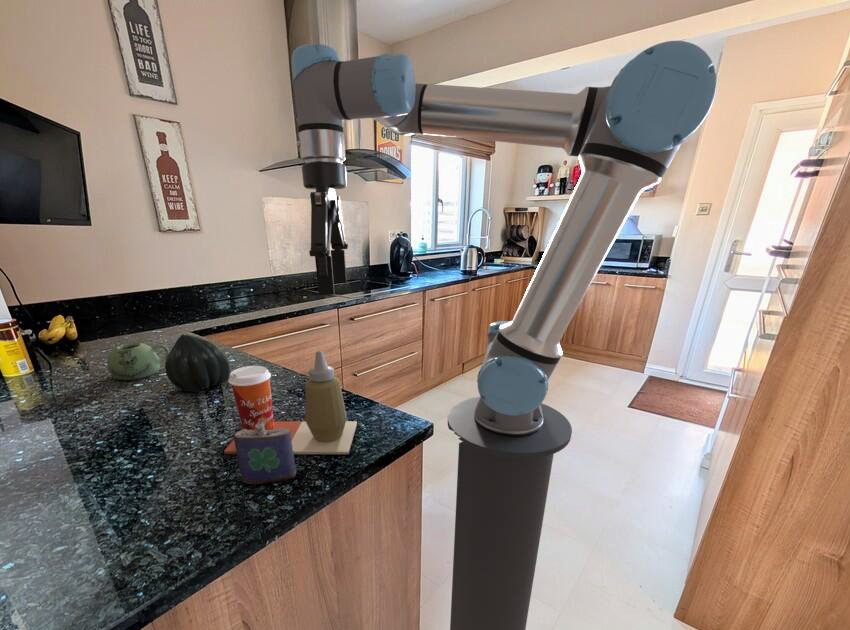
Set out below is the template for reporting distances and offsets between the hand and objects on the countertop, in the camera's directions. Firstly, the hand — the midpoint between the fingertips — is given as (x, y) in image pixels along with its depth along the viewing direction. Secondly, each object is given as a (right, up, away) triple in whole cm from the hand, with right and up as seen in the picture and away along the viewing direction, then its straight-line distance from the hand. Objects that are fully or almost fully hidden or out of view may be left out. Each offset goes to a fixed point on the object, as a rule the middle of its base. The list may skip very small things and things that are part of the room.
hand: (334, 288), depth 76 cm
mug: (-63, -15, +40) cm, 77 cm away
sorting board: (-9, -30, +4) cm, 31 cm away
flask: (-10, -35, -8) cm, 37 cm away
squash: (-41, -19, +30) cm, 54 cm away
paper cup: (-16, -29, +4) cm, 33 cm away
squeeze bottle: (-2, -29, +4) cm, 29 cm away
